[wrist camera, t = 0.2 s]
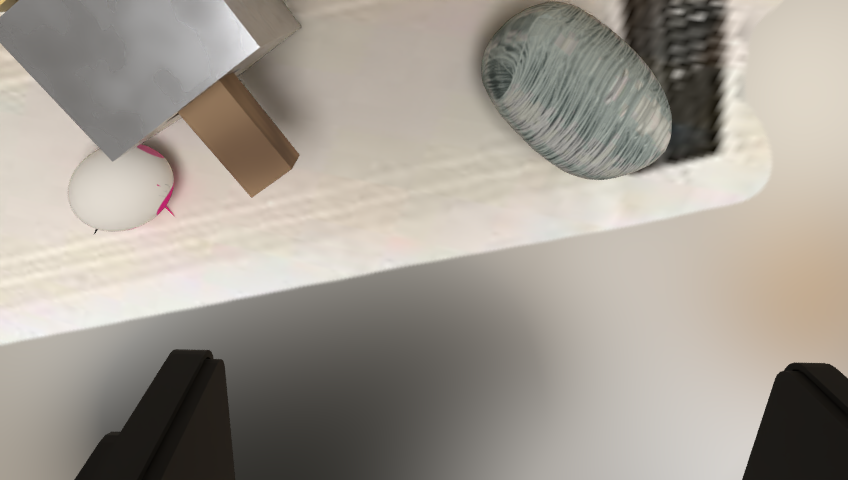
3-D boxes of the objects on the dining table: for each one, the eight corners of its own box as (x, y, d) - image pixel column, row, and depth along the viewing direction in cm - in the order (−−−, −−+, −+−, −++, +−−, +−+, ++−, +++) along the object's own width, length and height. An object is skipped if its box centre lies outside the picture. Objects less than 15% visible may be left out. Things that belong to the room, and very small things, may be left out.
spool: (431, 88, 41) (529, 81, 32) (503, -20, 42) (615, -54, 34) (546, 202, 48) (651, 220, 39) (604, 106, 49) (718, 104, 41)
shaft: (20, -104, 31) (-17, -112, 29) (60, -142, 31) (27, -154, 28) (262, 181, 38) (251, 197, 35) (299, 154, 37) (291, 169, 34)
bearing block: (111, 13, 41) (-14, 28, 29) (222, -81, 39) (139, -108, 27) (194, 110, 44) (112, 161, 31) (301, 26, 42) (259, 47, 29)
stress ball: (138, 204, 50) (143, 269, 46) (46, 157, 44) (43, 227, 40) (207, 156, 48) (217, 218, 45) (121, 99, 42) (125, 167, 38)
